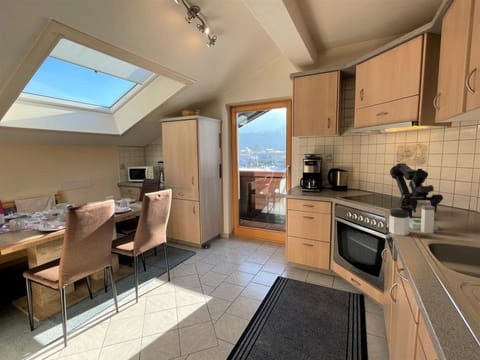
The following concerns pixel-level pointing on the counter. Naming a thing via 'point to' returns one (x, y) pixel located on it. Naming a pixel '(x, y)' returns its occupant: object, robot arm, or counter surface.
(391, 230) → the jar
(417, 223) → the socket
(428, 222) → the plug
